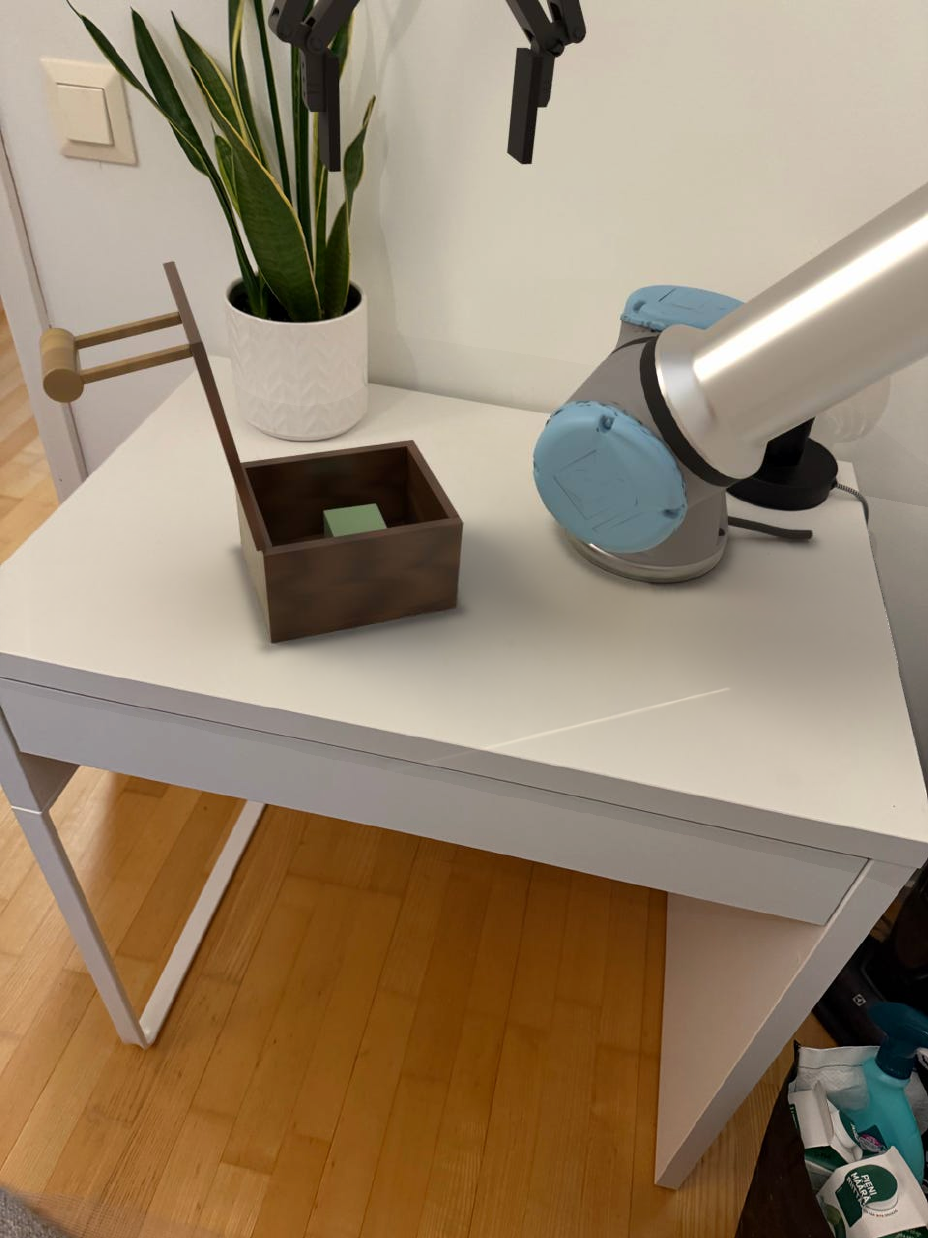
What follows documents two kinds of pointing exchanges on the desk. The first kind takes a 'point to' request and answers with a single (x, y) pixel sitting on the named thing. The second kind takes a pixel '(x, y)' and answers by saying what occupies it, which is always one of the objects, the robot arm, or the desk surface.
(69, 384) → the lid
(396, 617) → the chest
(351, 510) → the block
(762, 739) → the desk surface
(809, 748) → the desk surface
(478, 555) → the desk surface
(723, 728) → the desk surface
